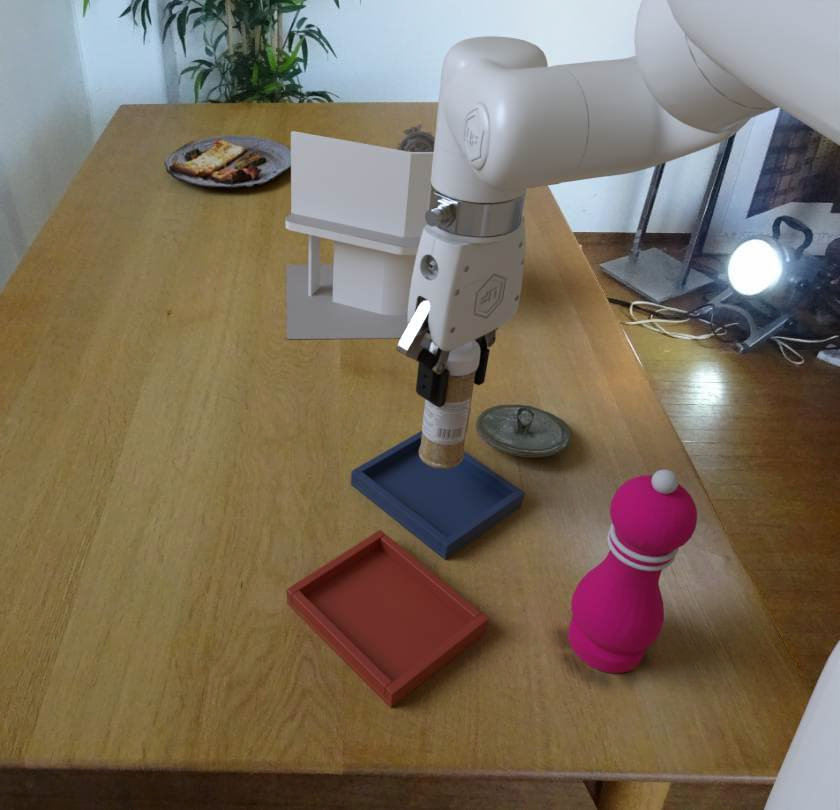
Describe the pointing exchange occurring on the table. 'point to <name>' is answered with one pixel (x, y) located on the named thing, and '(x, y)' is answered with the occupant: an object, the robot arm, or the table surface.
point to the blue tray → (437, 496)
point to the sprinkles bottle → (450, 410)
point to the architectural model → (354, 236)
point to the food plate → (229, 161)
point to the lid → (523, 431)
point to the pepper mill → (631, 573)
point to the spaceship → (417, 140)
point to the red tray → (386, 615)
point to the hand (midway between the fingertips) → (450, 386)
